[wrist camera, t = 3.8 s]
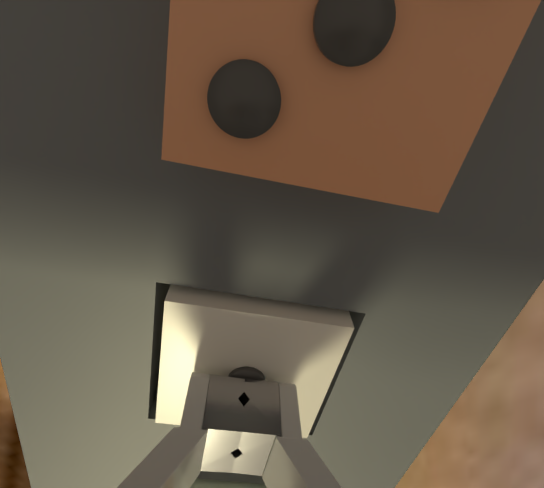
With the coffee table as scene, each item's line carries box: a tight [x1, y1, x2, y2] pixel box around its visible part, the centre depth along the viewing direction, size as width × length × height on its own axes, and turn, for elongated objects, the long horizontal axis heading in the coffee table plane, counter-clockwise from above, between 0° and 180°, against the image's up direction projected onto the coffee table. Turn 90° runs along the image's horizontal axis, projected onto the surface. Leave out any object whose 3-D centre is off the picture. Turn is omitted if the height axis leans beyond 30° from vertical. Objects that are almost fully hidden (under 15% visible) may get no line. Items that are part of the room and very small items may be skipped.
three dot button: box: [161, 0, 541, 213], centre depth 6 cm, size 5×5×3 cm
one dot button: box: [155, 284, 354, 438], centre depth 12 cm, size 5×5×3 cm
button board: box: [0, 0, 544, 488], centre depth 12 cm, size 14×30×3 cm, turn 168°
